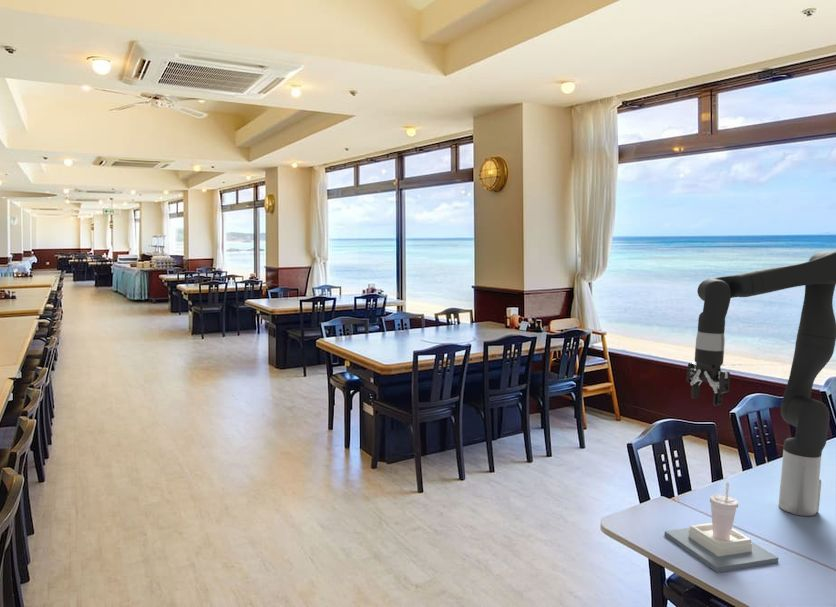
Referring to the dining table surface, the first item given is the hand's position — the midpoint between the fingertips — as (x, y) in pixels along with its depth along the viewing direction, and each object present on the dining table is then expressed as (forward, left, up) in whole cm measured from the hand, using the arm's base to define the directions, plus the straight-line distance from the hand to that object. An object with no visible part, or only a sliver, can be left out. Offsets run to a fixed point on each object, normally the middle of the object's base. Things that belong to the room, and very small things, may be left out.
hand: (705, 401), depth 173 cm
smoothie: (+16, +25, -27) cm, 40 cm away
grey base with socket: (+16, +25, -30) cm, 42 cm away
